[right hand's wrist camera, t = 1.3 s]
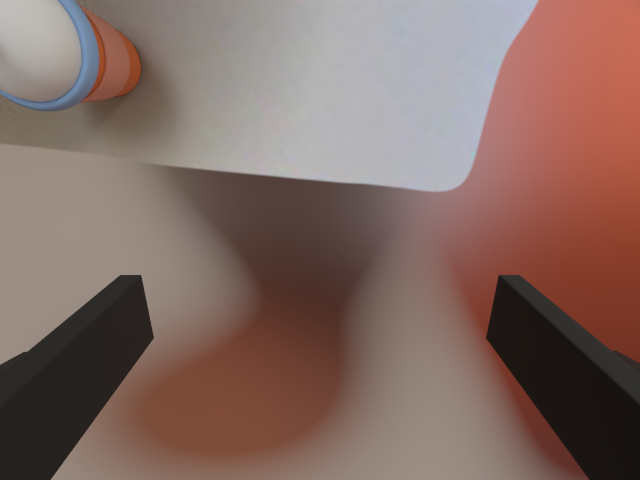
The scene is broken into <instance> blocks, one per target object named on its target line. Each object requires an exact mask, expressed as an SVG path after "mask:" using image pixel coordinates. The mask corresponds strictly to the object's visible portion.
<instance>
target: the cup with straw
mask: <svg viewBox="0 0 640 480" xmlns="http://www.w3.org/2000/svg"><path fill="white" fill-rule="evenodd" d="M140 73H141V64H140V59H139V56H138V53H137V51H136V49H135V47H134V46H133V44H132V43H131V42H130V41H129V39H128V38H127V37H126V36H124V35H123V34H122V33H120V32H119V31H117V30H116V29H114V28H113V27H112V26H111V25H110V24H109V23H107V22H106V21H105V20H103V19H102V18H100V17H98V16H97V15H95V14H94V13H92V12H90V11H89V10H87V9H86V8H84V7H82V6H81V5H79V4H77V2H76V1H75V0H0V94H1V95H3V96H4V97H6V98H7V99H9V100H11V101H13V102H15V103H17V104H19V105H21V106H24V107H27V108H30V109H34V110H39V111H59V110H64V109H67V108H70V107H72V106H74V105H76V104H78V103H81V102H90V101H99V100H106V99H109V98H112V97H116V96H122V95H125V94H127V93H129V92H130V91H132V90H133V89H134V88H135V86H136V85H137V83H138V81H139V78H140Z"/></svg>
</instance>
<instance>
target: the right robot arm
mask: <svg viewBox="0 0 640 480" xmlns="http://www.w3.org/2000/svg"><path fill="white" fill-rule="evenodd" d="M153 338H154V336H153V331H152V327H151V322H150V317H149V312H148V307H147V302H146V297H145V292H144V287H143V282H142V277H141V275H120V276H119V277H118V278H116V279H115V280H114V281H113V282H111V283H110V284H109V285H108V286H107V287H105V288H104V289H103V290H102V291H101V292H99V293H98V294H97V295H96V296H94V297H93V298H92V299H91V300H90V301H88V302H87V303H86V304H85V305H84V306H82V307H81V308H80V309H79V310H78V311H76V312H75V313H74V314H73V315H71V316H70V317H69V318H68V319H67V320H65V321H64V322H63V323H62V324H61V325H59V326H58V327H57V328H56V329H55V330H53V331H52V332H51V333H50V334H49V335H47V336H46V337H45V338H44V339H42V340H41V341H40V342H39V343H38V344H36V345H35V346H34V347H33V348H32V349H30V350H29V351H28V352H23V353H21V354H19V355H18V356H16V357H14V358H12V359H10V360H8V361H7V362H5V363H3V364H1V365H0V480H51V478H52V477H53V475H54V474H55V473H56V472H57V470H58V469H59V467H60V466H61V465H62V463H63V462H64V460H65V459H66V458H67V456H68V455H69V454H70V452H71V451H72V450H73V448H74V447H75V445H76V444H77V443H78V441H79V440H80V438H81V437H82V436H83V434H84V433H85V432H86V430H87V429H88V428H89V426H90V425H91V424H92V422H93V421H94V419H95V418H96V417H97V415H98V414H99V412H100V411H101V410H102V408H103V407H104V406H105V404H106V403H107V401H108V400H109V399H110V397H111V396H112V395H113V393H114V392H115V391H116V389H117V388H118V386H119V385H120V384H121V382H122V381H123V380H124V378H125V377H126V376H127V374H128V373H129V371H130V370H131V369H132V367H133V366H134V365H135V363H136V362H137V360H138V359H139V358H140V356H141V355H142V354H143V352H144V351H145V349H146V348H147V347H148V345H149V344H150V343H151V341H152V340H153ZM486 339H487V340H488V341H489V343H490V344H491V345H492V347H493V348H494V349H495V351H496V352H497V354H498V355H499V356H500V358H501V359H502V360H503V362H504V363H505V365H506V366H507V367H508V369H509V370H510V371H511V373H512V374H513V375H514V377H515V378H516V380H517V381H518V382H519V384H520V385H521V386H522V388H523V389H524V391H525V392H526V393H527V395H528V396H529V397H530V399H531V400H532V402H533V403H534V404H535V406H536V407H537V408H538V410H539V411H540V413H541V414H542V415H543V417H544V418H545V419H546V421H547V422H548V424H549V425H550V426H551V428H552V429H553V430H554V432H555V433H556V434H557V436H558V437H559V438H560V440H561V441H562V443H563V444H564V445H565V447H566V448H567V450H568V451H569V452H570V454H571V455H572V456H573V458H574V459H575V461H576V462H577V463H578V465H579V466H580V467H581V469H582V470H583V471H584V473H585V474H586V475H587V477H588V478H589V480H640V363H638V362H636V361H634V360H632V359H631V358H629V357H627V356H625V355H623V354H621V353H620V352H618V351H611V350H610V349H608V348H607V347H606V346H605V345H604V344H602V343H601V342H600V341H599V340H598V339H596V338H595V337H594V336H593V335H592V334H590V333H589V332H588V331H587V330H585V329H584V328H583V327H582V326H581V325H579V324H578V323H577V322H576V321H575V320H573V319H572V318H571V317H570V316H568V315H567V314H566V313H565V312H564V311H562V310H561V309H560V308H559V307H558V306H556V305H555V304H554V303H553V302H552V301H550V300H549V299H548V298H547V297H546V296H544V295H543V294H542V293H541V292H539V291H538V290H537V289H536V288H535V287H533V286H532V285H531V284H530V283H529V282H527V281H526V280H525V279H524V278H523V277H521V276H520V275H499V277H498V282H497V287H496V292H495V297H494V302H493V307H492V312H491V317H490V322H489V327H488V331H487V337H486Z"/></svg>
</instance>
